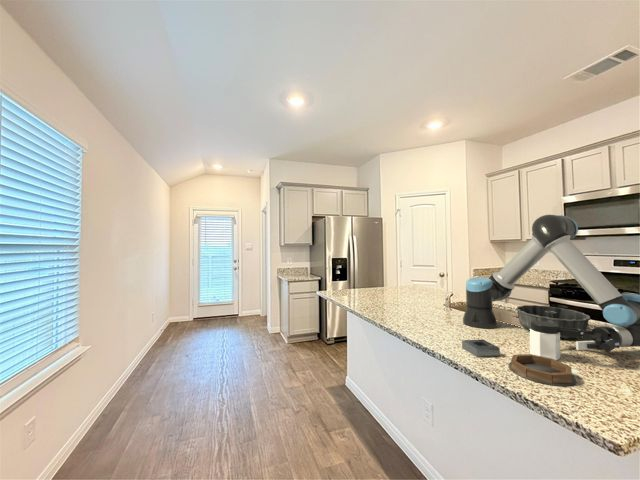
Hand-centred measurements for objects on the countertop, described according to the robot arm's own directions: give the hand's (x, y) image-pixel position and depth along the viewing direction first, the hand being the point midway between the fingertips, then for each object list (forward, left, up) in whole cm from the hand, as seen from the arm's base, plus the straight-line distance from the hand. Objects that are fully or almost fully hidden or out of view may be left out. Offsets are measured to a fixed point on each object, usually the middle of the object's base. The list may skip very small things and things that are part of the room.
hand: (558, 338), depth 102 cm
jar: (-1, -5, -7) cm, 8 cm away
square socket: (-7, -26, -6) cm, 27 cm away
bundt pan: (-25, +21, -7) cm, 33 cm away
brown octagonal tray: (+11, -18, -6) cm, 22 cm away
